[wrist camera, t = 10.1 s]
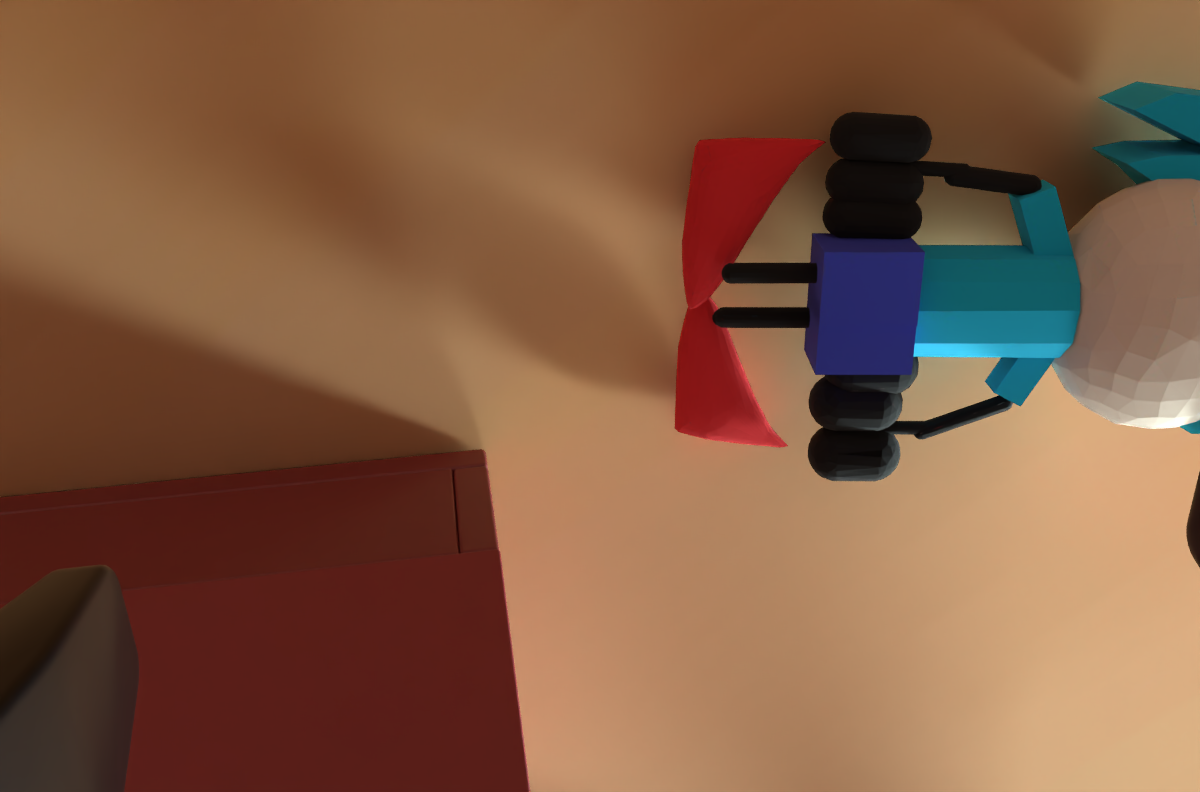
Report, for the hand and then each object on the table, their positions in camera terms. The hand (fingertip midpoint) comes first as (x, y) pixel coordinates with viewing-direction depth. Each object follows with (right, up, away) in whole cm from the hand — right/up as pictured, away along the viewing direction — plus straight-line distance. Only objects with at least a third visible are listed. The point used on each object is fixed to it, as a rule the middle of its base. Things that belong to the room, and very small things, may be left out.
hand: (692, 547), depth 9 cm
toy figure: (+8, +4, +14) cm, 17 cm away
